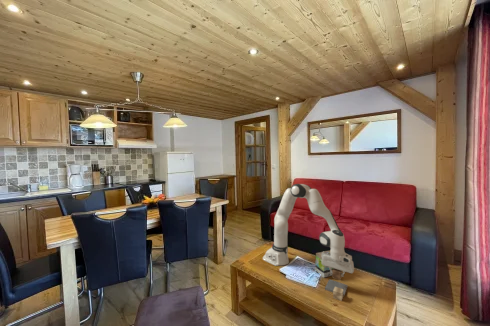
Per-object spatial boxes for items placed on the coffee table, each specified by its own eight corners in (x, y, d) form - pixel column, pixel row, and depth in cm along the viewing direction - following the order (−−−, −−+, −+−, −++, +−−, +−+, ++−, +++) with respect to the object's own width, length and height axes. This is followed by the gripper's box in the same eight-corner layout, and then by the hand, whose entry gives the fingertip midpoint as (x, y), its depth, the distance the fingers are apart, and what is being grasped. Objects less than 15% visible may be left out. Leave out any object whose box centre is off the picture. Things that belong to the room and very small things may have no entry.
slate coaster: (324, 289, 143) (324, 287, 143) (329, 280, 153) (329, 279, 153) (344, 296, 136) (344, 294, 136) (347, 286, 146) (347, 285, 146)
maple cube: (333, 298, 135) (333, 290, 135) (334, 293, 139) (335, 286, 139) (341, 301, 132) (341, 293, 132) (343, 296, 136) (343, 289, 136)
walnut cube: (332, 277, 144) (332, 270, 144) (333, 274, 148) (334, 267, 148) (340, 280, 141) (340, 272, 141) (341, 276, 145) (341, 269, 145)
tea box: (324, 278, 156) (324, 258, 155) (314, 271, 165) (315, 252, 165) (339, 274, 162) (340, 255, 161) (329, 267, 171) (330, 249, 170)
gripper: (320, 252, 147) (320, 272, 148) (353, 261, 135) (352, 282, 136) (322, 249, 152) (322, 268, 153) (354, 257, 141) (354, 277, 141)
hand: (337, 274), depth 144 cm, fingers closed on walnut cube, 5 cm apart
